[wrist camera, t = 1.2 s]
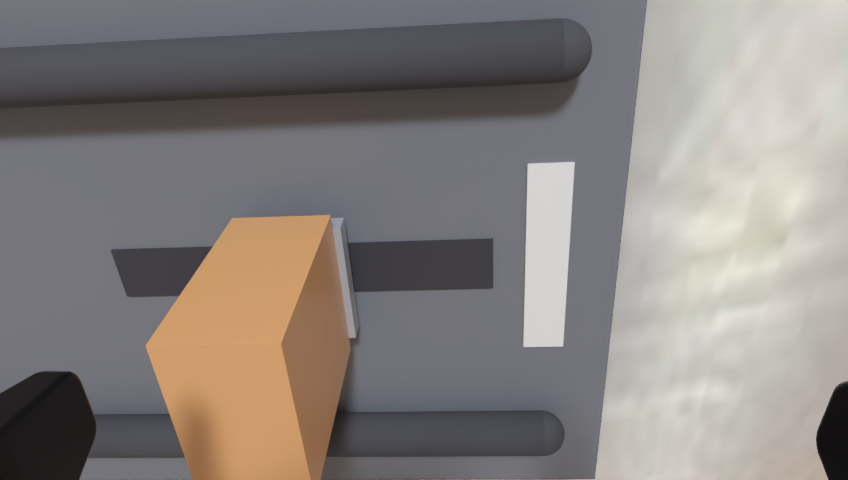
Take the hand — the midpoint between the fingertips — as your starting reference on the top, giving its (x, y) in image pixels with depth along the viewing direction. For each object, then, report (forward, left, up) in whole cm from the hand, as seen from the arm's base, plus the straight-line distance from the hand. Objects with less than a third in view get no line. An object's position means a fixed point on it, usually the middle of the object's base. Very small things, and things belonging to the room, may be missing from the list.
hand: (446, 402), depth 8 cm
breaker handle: (-4, +4, -10) cm, 11 cm away
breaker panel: (-4, +7, -13) cm, 15 cm away
